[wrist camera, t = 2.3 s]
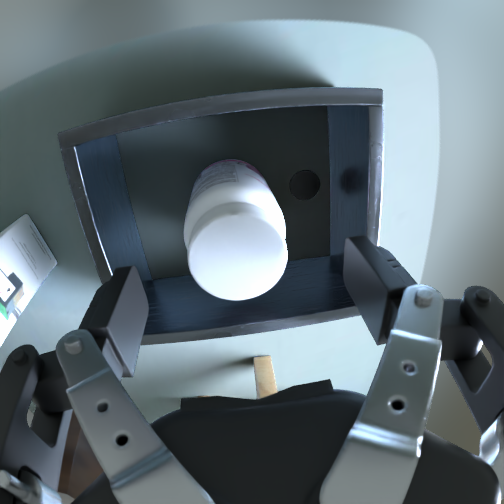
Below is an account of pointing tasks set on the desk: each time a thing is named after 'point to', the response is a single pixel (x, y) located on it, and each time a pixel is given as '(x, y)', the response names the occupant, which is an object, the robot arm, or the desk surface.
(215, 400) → the robot arm
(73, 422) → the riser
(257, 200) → the pill bottle
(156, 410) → the desk surface
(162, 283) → the storage box
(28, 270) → the ink box
